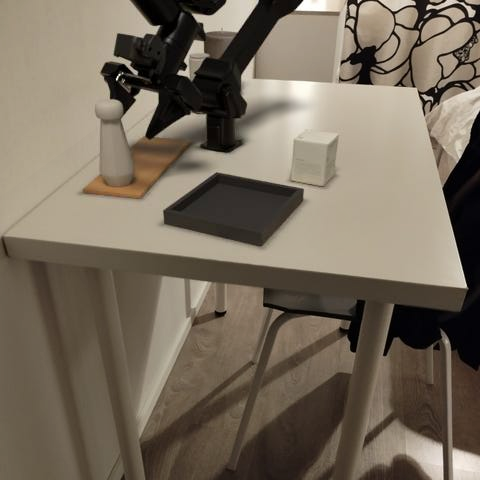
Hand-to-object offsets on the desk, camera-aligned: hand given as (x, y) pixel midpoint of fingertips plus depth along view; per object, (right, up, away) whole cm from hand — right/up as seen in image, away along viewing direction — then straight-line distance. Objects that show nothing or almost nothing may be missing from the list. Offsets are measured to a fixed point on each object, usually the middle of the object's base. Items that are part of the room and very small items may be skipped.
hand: (127, 132), depth 84 cm
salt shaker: (-2, -8, +3) cm, 8 cm away
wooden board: (0, -2, +11) cm, 11 cm away
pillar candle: (+14, +30, +53) cm, 62 cm away
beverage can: (+9, +19, +38) cm, 44 cm away
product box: (+31, -6, +6) cm, 32 cm away
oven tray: (+18, -14, -5) cm, 23 cm away
